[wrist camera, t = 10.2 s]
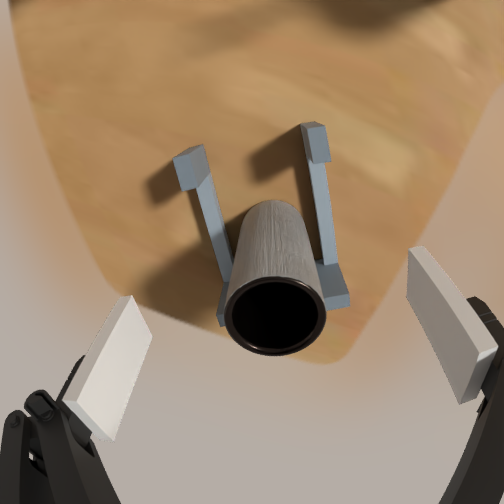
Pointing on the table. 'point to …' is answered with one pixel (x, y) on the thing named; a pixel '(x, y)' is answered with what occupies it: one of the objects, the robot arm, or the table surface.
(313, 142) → the endcap rail
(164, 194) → the table surface
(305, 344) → the grey tube
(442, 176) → the table surface
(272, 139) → the table surface
